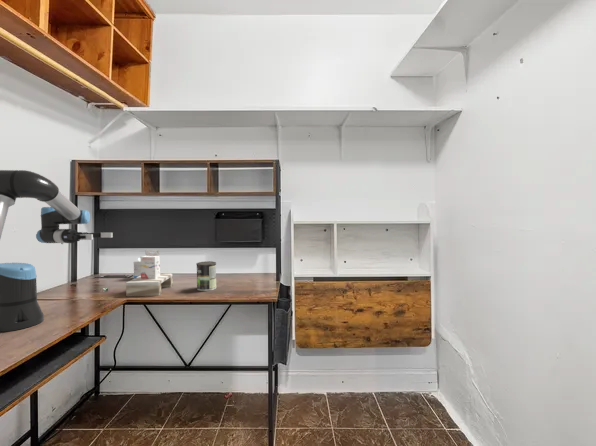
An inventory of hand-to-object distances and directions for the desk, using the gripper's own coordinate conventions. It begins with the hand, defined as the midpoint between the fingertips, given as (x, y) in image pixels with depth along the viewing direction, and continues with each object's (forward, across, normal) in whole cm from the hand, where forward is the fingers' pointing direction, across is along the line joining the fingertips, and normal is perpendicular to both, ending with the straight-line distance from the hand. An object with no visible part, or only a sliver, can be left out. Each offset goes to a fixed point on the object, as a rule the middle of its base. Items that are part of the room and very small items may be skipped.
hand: (102, 236), depth 164 cm
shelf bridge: (+22, -6, -30) cm, 38 cm away
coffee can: (+51, -14, -30) cm, 60 cm away
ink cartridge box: (+23, -6, -23) cm, 33 cm away
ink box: (+1, -32, -30) cm, 44 cm away
